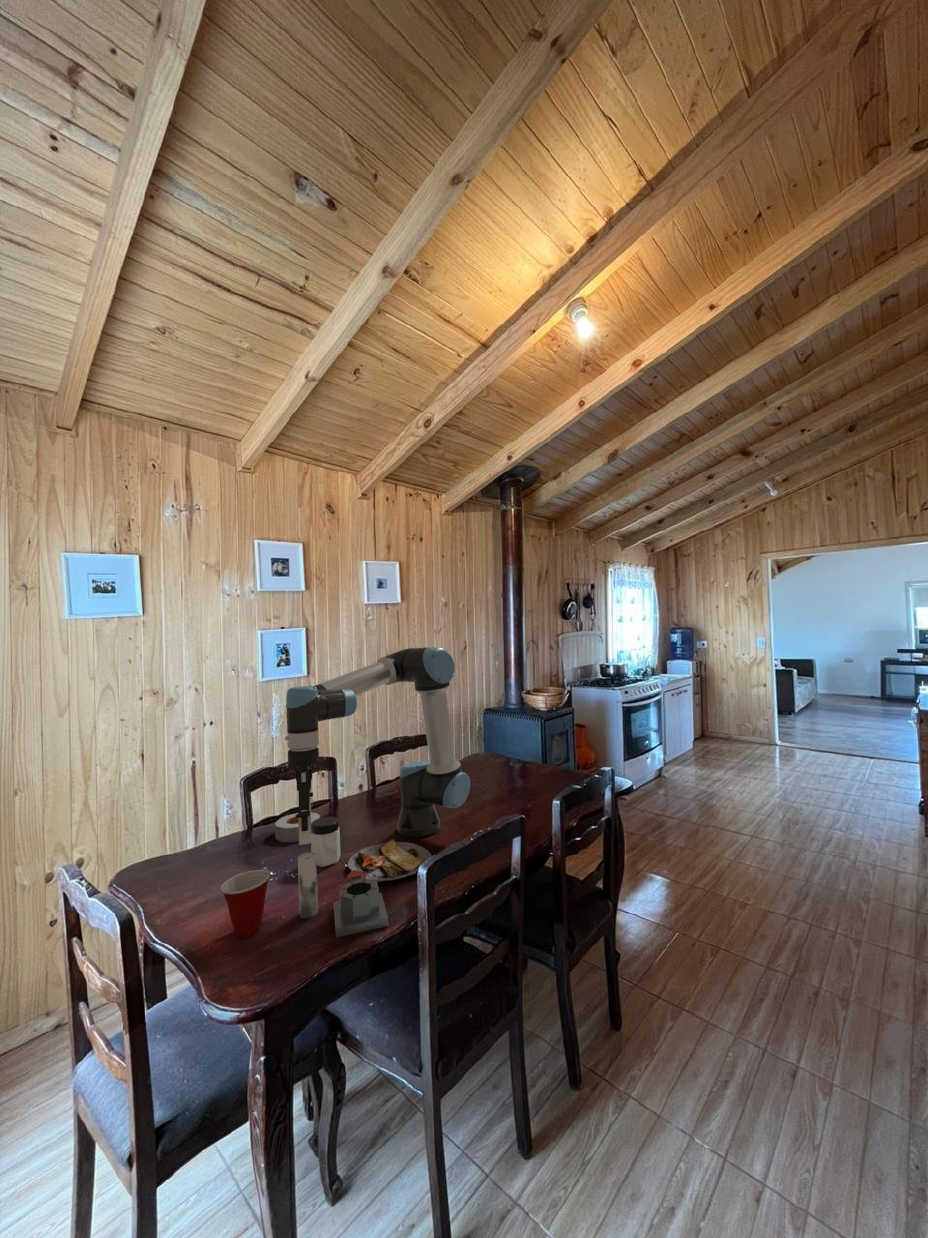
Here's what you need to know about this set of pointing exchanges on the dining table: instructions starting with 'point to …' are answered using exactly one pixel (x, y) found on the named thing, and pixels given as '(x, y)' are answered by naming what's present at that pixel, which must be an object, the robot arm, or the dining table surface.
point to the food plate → (388, 860)
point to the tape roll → (290, 827)
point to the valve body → (359, 906)
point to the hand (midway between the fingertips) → (305, 833)
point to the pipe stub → (307, 885)
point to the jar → (326, 840)
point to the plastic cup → (246, 900)
